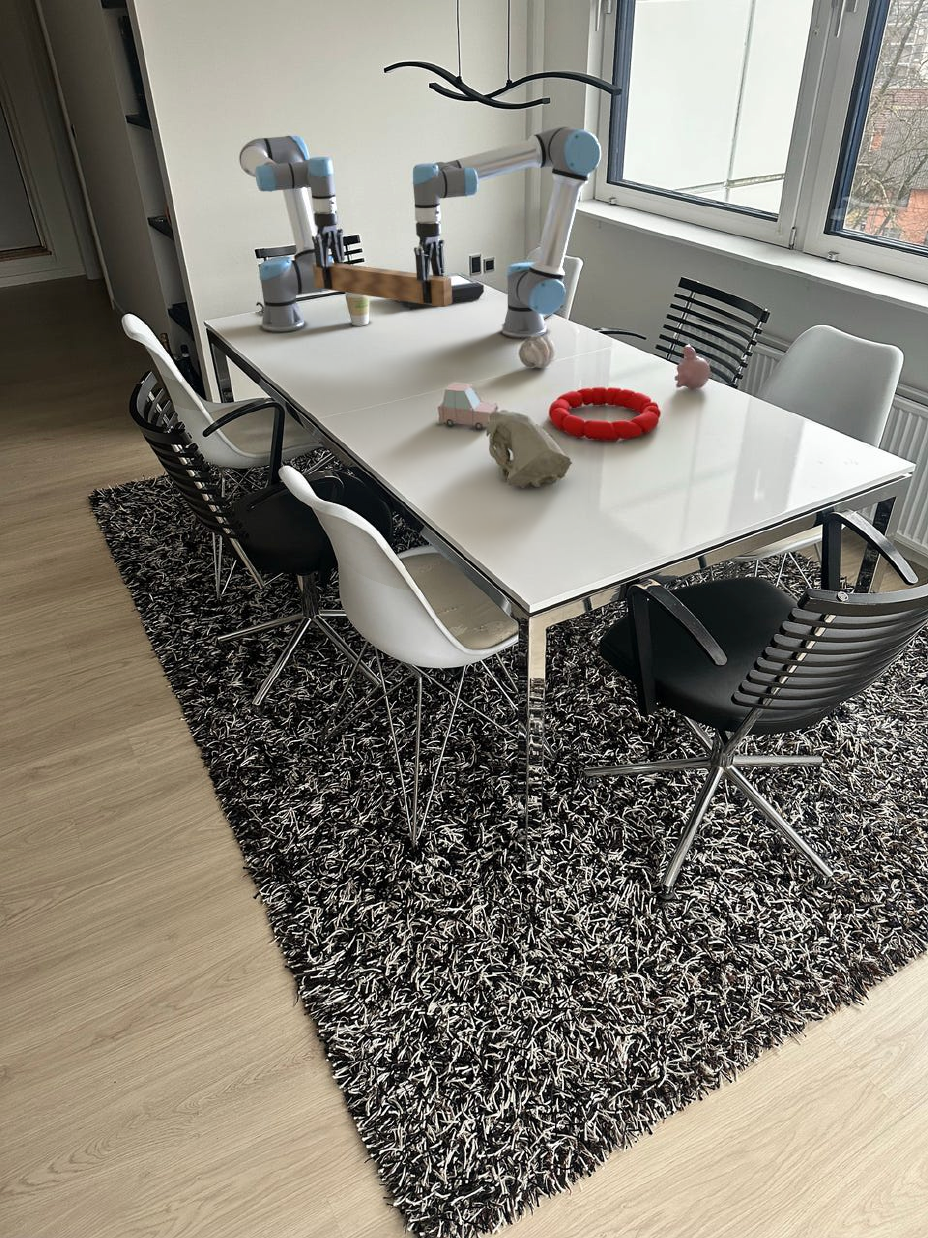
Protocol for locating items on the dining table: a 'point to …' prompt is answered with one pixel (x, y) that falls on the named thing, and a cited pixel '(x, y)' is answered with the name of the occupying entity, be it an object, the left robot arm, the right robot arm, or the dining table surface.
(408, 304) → the electronic device
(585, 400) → the decorative ring
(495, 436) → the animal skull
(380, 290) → the bar
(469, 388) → the toy car
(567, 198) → the right robot arm
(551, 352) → the seashell
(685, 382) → the figurine
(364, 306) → the coffee cup
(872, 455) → the dining table surface
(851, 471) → the dining table surface
